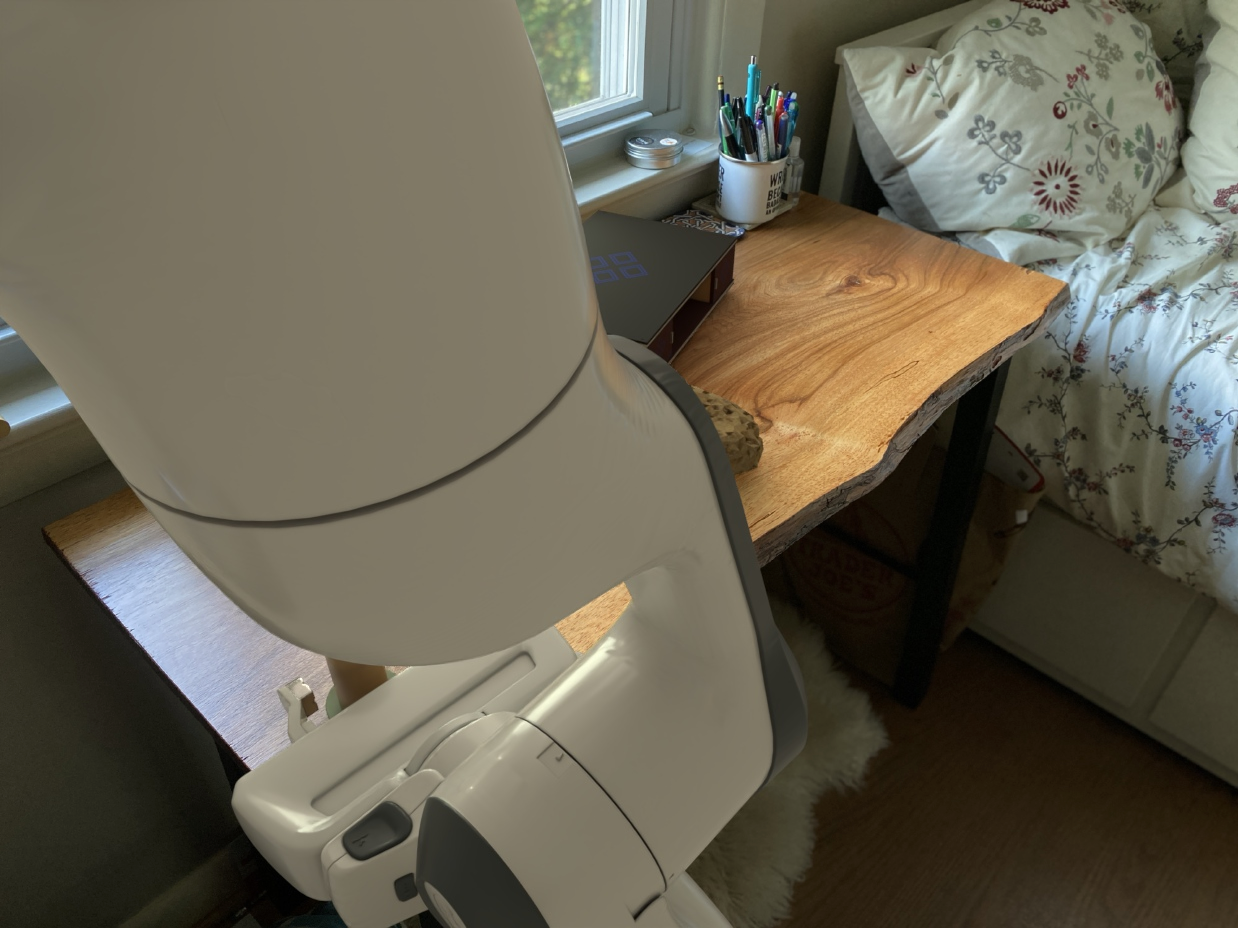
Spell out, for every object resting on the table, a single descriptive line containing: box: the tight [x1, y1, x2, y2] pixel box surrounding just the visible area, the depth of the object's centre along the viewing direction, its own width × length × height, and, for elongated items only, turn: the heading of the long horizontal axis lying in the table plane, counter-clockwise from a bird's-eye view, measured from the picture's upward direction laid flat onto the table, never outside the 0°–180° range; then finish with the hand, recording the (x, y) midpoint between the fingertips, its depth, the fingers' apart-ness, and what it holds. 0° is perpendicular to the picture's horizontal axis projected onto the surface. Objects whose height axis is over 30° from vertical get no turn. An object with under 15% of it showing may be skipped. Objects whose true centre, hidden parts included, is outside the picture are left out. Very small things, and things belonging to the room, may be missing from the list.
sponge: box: [688, 383, 764, 476], centre depth 82 cm, size 13×8×20 cm
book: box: [582, 209, 738, 365], centre depth 100 cm, size 17×25×7 cm
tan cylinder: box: [324, 656, 398, 720], centre depth 57 cm, size 5×5×12 cm
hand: (347, 653), depth 58 cm, fingers open, 6 cm apart
